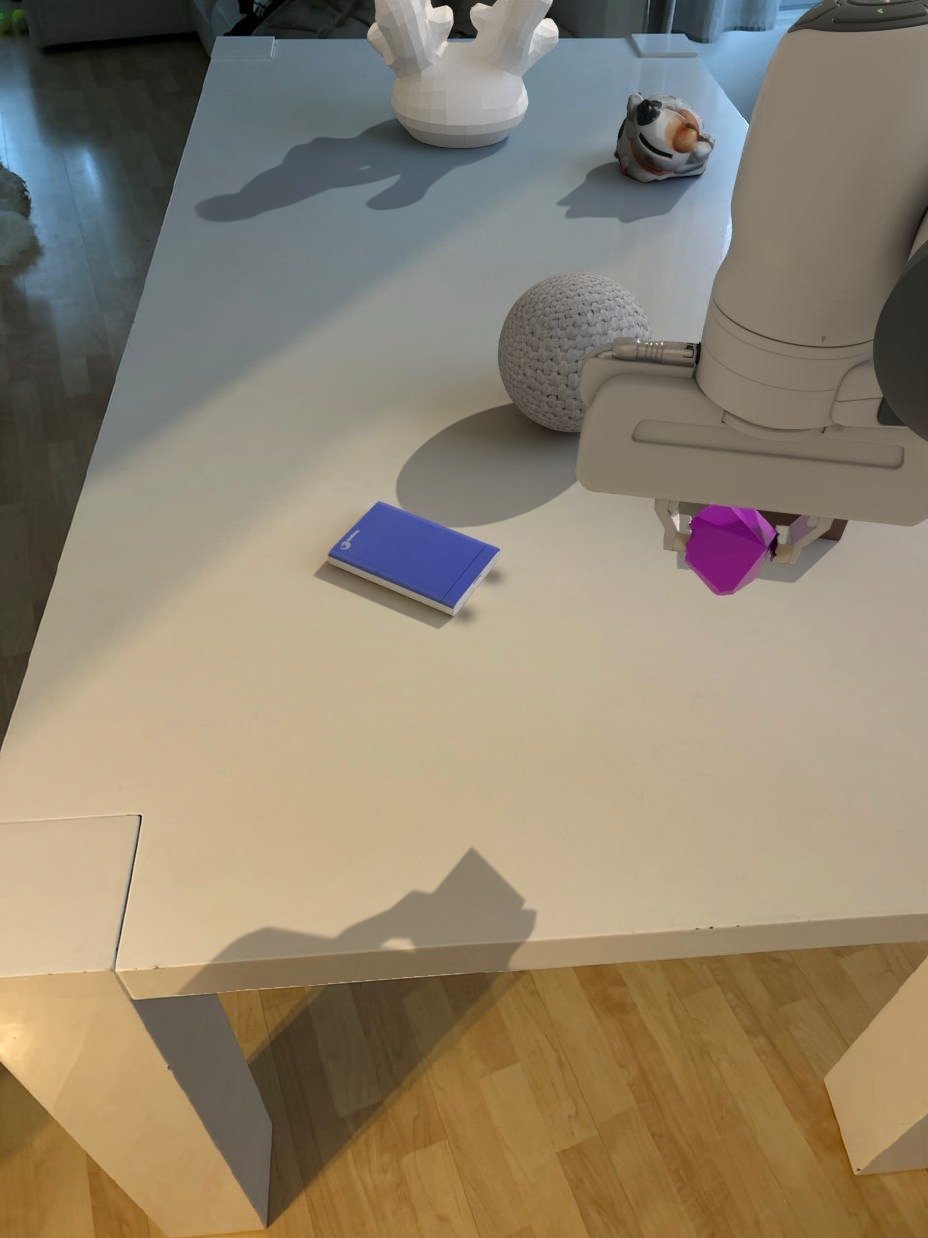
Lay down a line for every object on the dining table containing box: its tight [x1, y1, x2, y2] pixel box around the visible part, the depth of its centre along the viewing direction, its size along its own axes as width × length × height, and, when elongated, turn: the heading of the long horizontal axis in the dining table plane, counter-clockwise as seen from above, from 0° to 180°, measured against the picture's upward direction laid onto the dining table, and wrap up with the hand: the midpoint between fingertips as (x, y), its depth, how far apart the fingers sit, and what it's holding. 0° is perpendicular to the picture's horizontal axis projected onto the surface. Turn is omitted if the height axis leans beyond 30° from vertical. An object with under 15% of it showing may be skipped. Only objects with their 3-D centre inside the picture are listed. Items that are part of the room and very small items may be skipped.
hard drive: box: [327, 500, 501, 617], centre depth 82 cm, size 2×8×12 cm
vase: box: [366, 0, 559, 149], centre depth 138 cm, size 29×22×35 cm
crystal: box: [684, 505, 776, 597], centre depth 58 cm, size 5×5×5 cm
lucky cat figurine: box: [613, 91, 716, 184], centre depth 136 cm, size 15×12×14 cm
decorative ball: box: [497, 271, 654, 433], centre depth 92 cm, size 15×15×15 cm
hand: (728, 551), depth 59 cm, fingers closed on crystal, 5 cm apart
